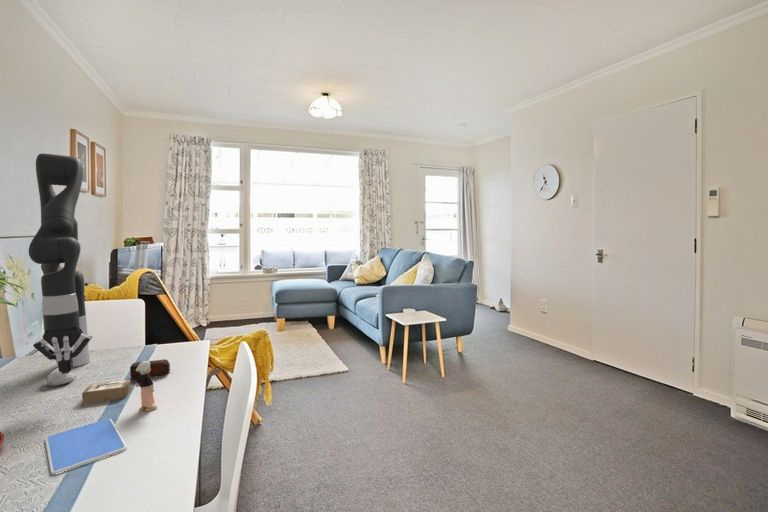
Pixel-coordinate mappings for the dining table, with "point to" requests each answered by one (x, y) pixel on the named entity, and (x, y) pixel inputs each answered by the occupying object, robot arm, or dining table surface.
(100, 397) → the marked cardboard box
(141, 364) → the grandmother figurine
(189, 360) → the dining table surface
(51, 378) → the white seashell
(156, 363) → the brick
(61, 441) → the tablet computer
